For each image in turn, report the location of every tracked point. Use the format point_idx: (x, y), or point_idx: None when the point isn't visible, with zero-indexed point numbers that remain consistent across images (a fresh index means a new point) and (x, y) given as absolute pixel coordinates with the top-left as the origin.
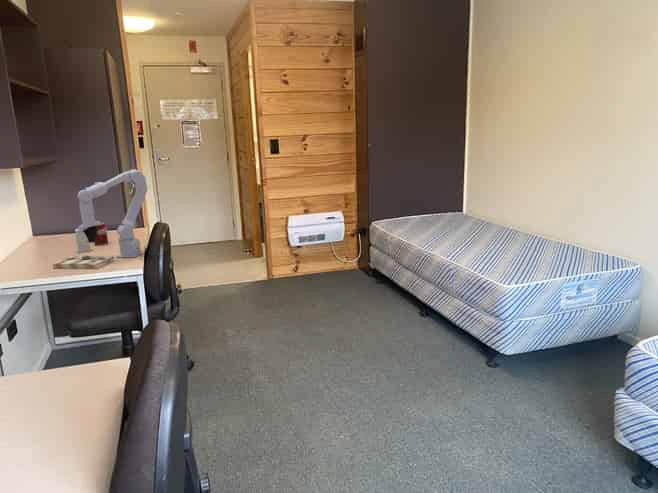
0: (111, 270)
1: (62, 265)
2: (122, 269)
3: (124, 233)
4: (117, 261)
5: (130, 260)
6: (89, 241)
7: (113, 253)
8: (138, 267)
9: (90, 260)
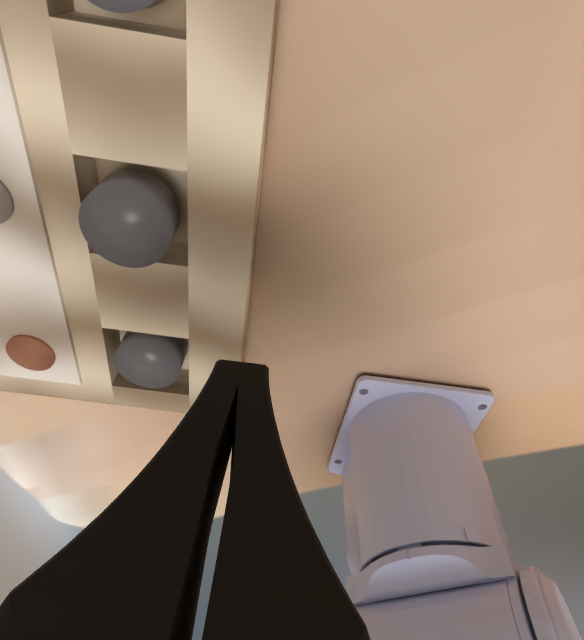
0: (18, 437)
1: None
2: (56, 475)
3: None
4: None
5: None
6: (212, 379)
7: (559, 291)
8: None
9: (79, 294)
